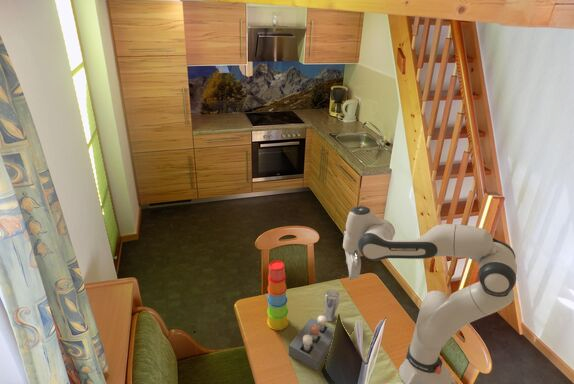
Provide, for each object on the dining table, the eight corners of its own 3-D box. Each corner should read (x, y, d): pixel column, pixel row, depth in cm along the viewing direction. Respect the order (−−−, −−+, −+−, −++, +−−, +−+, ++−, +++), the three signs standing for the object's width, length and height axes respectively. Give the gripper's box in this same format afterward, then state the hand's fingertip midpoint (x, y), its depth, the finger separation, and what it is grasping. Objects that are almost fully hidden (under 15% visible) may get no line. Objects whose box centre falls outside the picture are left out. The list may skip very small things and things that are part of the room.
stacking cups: (274, 334, 177) (276, 276, 160) (263, 319, 184) (264, 262, 168) (292, 325, 182) (296, 268, 165) (281, 311, 189) (284, 255, 173)
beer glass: (335, 323, 184) (339, 300, 177) (321, 321, 185) (324, 298, 178) (337, 313, 190) (340, 290, 183) (323, 310, 191) (325, 287, 184)
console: (336, 340, 175) (337, 330, 172) (316, 370, 161) (317, 361, 158) (309, 326, 182) (310, 317, 179) (288, 354, 167) (289, 345, 165)
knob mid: (320, 337, 169) (321, 327, 166) (315, 343, 166) (317, 333, 163) (312, 333, 171) (313, 323, 168) (307, 339, 168) (308, 329, 165)
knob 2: (326, 327, 174) (328, 317, 171) (322, 333, 171) (324, 323, 168) (319, 324, 176) (320, 314, 173) (315, 329, 173) (316, 319, 170)
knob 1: (313, 347, 164) (314, 337, 161) (308, 354, 161) (309, 343, 158) (305, 343, 166) (306, 333, 163) (300, 349, 163) (301, 339, 160)
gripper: (366, 261, 141) (360, 289, 148) (358, 229, 159) (354, 256, 165) (349, 260, 141) (344, 288, 148) (343, 228, 159) (339, 255, 165)
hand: (349, 271), depth 157 cm, fingers open, 8 cm apart
